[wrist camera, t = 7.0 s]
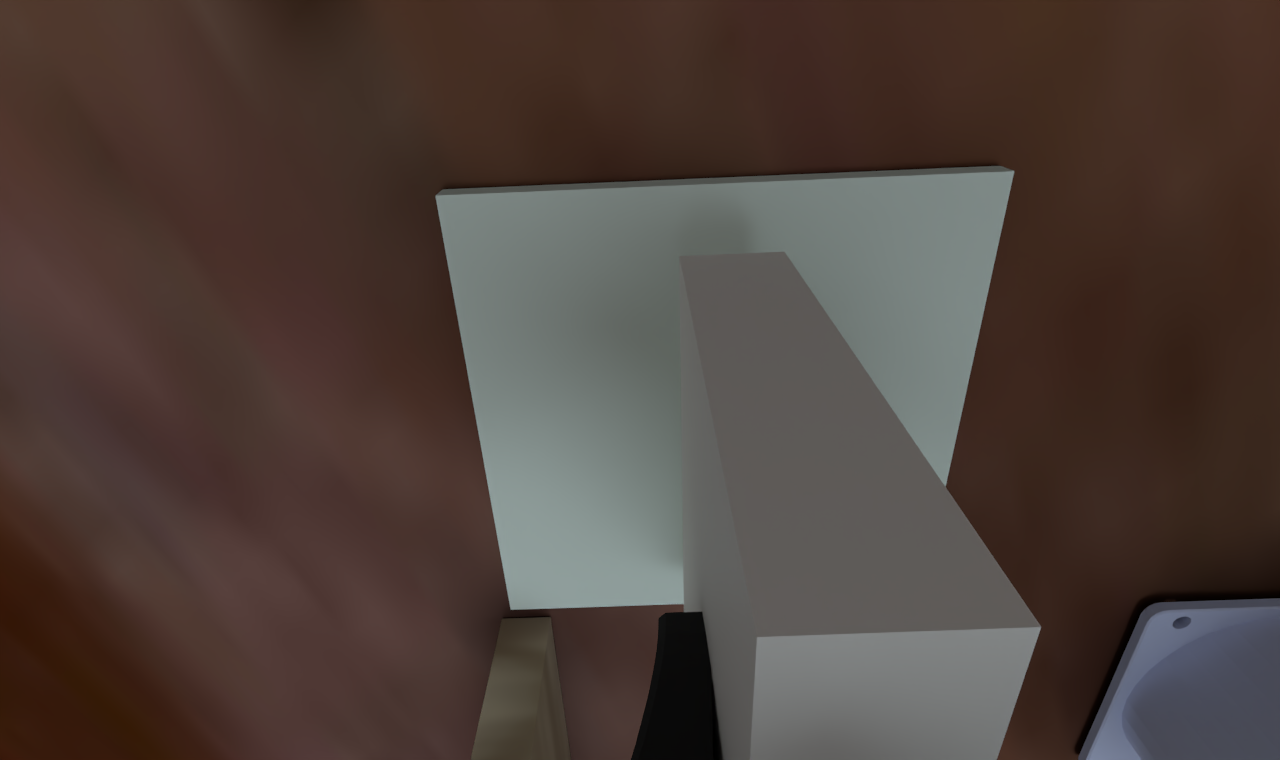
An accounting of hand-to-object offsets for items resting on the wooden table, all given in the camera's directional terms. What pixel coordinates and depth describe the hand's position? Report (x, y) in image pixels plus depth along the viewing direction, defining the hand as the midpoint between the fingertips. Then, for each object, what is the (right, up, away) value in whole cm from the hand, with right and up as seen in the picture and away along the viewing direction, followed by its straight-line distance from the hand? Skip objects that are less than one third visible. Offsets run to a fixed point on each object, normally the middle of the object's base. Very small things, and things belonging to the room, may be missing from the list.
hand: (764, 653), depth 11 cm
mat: (0, +3, +6) cm, 7 cm away
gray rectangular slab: (0, +2, +4) cm, 5 cm away
